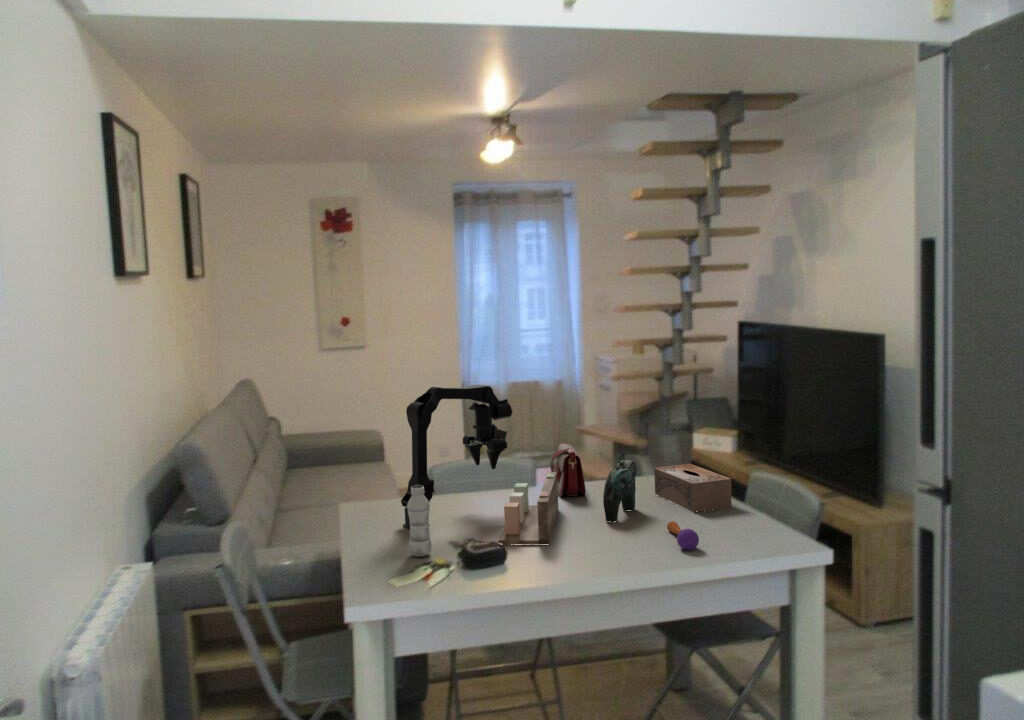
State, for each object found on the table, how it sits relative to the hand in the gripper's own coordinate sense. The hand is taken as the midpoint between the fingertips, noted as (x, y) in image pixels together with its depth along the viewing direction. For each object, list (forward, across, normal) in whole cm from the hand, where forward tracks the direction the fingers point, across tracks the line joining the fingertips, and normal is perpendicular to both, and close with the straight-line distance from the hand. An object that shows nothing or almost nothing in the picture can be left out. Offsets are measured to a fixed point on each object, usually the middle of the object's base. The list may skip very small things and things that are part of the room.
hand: (485, 467), depth 273 cm
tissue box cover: (+15, -43, -56) cm, 72 cm away
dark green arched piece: (+15, -38, -27) cm, 49 cm away
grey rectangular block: (+13, -23, +5) cm, 27 cm away
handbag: (+15, 0, -37) cm, 40 cm away
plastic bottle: (+15, -26, +42) cm, 52 cm away
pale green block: (+13, -15, -4) cm, 20 cm away
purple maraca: (+15, -69, -20) cm, 73 cm away
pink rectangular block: (+13, -32, +13) cm, 37 cm away
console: (+15, -26, +2) cm, 30 cm away
